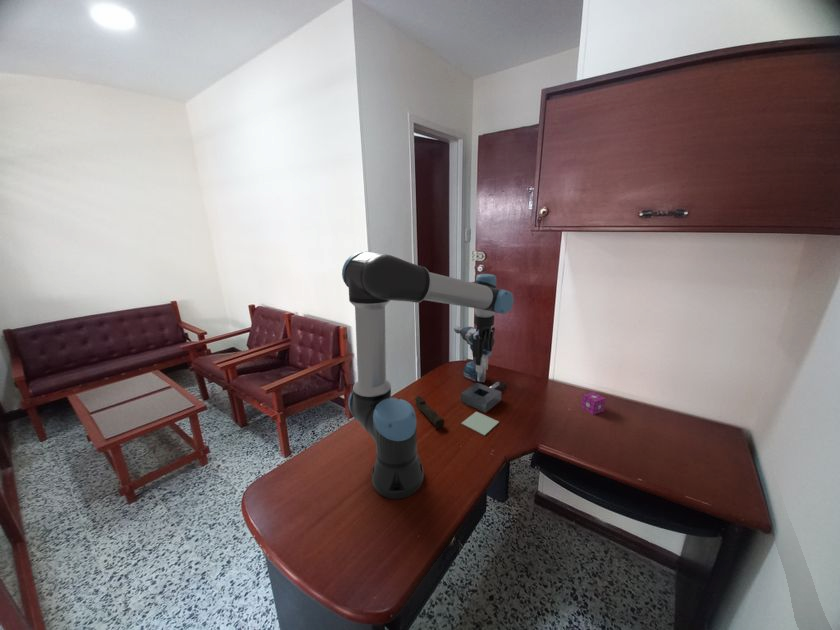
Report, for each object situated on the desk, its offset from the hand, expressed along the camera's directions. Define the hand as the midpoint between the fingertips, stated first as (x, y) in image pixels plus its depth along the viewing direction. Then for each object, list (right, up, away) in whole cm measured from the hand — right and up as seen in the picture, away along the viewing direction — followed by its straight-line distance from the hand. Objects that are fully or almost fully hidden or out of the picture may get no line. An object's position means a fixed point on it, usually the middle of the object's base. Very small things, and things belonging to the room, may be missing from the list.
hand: (481, 370), depth 125 cm
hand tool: (-23, -17, -5) cm, 29 cm away
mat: (-3, -18, -10) cm, 21 cm away
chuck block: (+3, -13, +7) cm, 15 cm away
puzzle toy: (+43, -15, -3) cm, 46 cm away
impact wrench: (0, -8, +25) cm, 26 cm away
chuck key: (0, -4, +1) cm, 5 cm away
